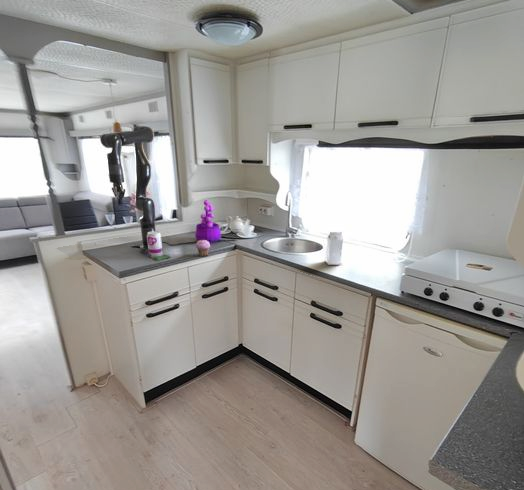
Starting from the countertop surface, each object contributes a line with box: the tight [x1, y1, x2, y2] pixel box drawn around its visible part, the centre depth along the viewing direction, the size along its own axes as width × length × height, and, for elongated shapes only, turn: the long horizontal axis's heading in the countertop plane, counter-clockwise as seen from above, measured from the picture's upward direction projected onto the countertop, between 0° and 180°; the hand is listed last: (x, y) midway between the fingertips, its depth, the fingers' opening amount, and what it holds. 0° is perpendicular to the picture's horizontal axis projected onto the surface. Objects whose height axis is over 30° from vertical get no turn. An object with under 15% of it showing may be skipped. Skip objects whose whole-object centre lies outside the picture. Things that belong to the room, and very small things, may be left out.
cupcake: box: [195, 240, 211, 257], centre depth 205 cm, size 9×9×10 cm
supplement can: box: [147, 230, 164, 259], centre depth 201 cm, size 8×8×15 cm
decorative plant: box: [194, 199, 222, 244], centre depth 232 cm, size 19×18×30 cm
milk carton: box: [325, 231, 344, 266], centre depth 192 cm, size 7×7×19 cm
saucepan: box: [130, 244, 149, 255], centre depth 212 cm, size 19×11×4 cm, turn 76°
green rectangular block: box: [153, 254, 170, 261], centre depth 199 cm, size 8×4×1 cm, turn 136°
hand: (120, 205), depth 186 cm, fingers closed
